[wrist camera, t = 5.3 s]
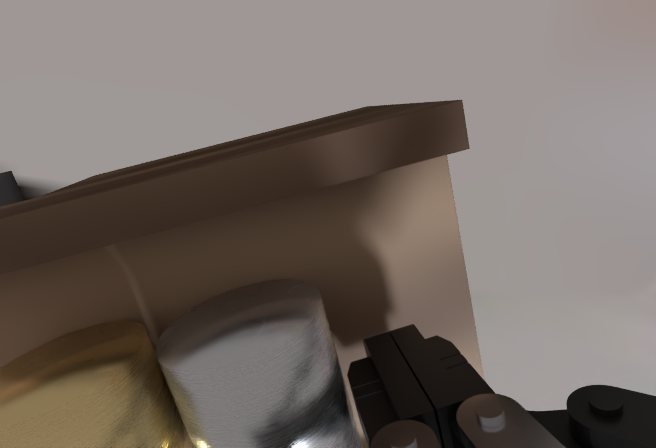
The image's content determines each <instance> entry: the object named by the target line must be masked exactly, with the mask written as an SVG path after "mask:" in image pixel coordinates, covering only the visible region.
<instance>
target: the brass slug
mask: <svg viewBox="0 0 656 448" xmlns="http://www.w3.org/2000/svg"><path fill="white" fill-rule="evenodd" d="M0 448H193V445H192V443H191V440H190V438H189V435H188V433H187V430H186V428H185V425H184V423H183V420H182V418H181V416H180V413H179V411H178V408H177V406H176V403H175V401H174V398H173V396H172V393H171V391H170V388H169V386H168V383H167V381H166V378H165V376H164V374H163V371H162V369H161V366H160V364H159V361H158V359H157V356H156V353H155V350H154V348H153V345H152V343H151V340H150V338H149V335H148V333H147V330H146V328H145V326H144V325H143V324H141V323H139V322H136V321H128V320H127V321H113V322H107V323H102V324H98V325H94V326H90V327H87V328H84V329H81V330H77V331H75V332H72V333H69V334H66V335H64V336H61V337H59V338H56V339H54V340H52V341H50V342H47V343H45V344H43V345H41V346H39V347H37V348H35V349H33V350H31V351H29V352H27V353H25V354H23V355H21V356H20V357H18V358H16V359H14V360H13V361H11V362H9V363H8V364H6V365H4V366H3V367H1V368H0Z"/></svg>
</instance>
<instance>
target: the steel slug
mask: <svg viewBox="0 0 656 448" xmlns="http://www.w3.org/2000/svg"><path fill="white" fill-rule="evenodd" d="M155 353H156V356H157V359H158V361H159V364H160V366H161V369H162V371H163V374H164V376H165V378H166V381H167V383H168V386H169V388H170V391H171V393H172V396H173V398H174V401H175V403H176V406H177V408H178V411H179V413H180V416H181V418H182V420H183V423H184V425H185V428H186V430H187V433H188V435H189V438H190V440H191V443H192V445H193V448H363V445H362V441H361V438H360V434H359V431H358V427H357V423H356V420H355V416H354V413H353V409H352V405H351V402H350V398H349V395H348V391H347V387H346V384H345V380H344V377H343V373H342V369H341V366H340V362H339V359H338V355H337V351H336V348H335V344H334V341H333V337H332V333H331V330H330V326H329V323H328V319H327V315H326V312H325V308H324V305H323V301H322V298H321V294H320V292H319V290H318V289H317V288H316V287H315V286H314V285H312V284H310V283H308V282H305V281H301V280H293V279H280V280H269V281H263V282H258V283H253V284H249V285H246V286H242V287H239V288H236V289H233V290H230V291H227V292H225V293H222V294H220V295H217V296H215V297H213V298H211V299H209V300H207V301H205V302H203V303H201V304H199V305H197V306H195V307H194V308H192V309H190V310H189V311H187V312H186V313H184V314H183V315H182V316H180V317H179V318H178V319H176V320H175V321H174V322H173V323H172V324H171V325H170V326H169V327H168V328H167V329H166V330H165V331H164V332H163V334H162V335H161V336H160V338H159V340H158V342H157V344H156V348H155Z"/></svg>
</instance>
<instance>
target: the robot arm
mask: <svg viewBox="0 0 656 448" xmlns="http://www.w3.org/2000/svg"><path fill="white" fill-rule="evenodd" d="M363 343H364V348H365V352H366V355H367V357H366V358H363V359H359V360H356V361H353V362H351V363H350V367H349V370H348V373H347V377H348V380H349V384H350V388H351V391H352V395H353V398H354V402H355V406H356V409H357V413H358V417H359V420H360V423H361V426H362V430H363V433H364V435H365V439H366V442H367V445H368V448H656V396H652V395H648V394H643V393H639V392H635V391H631V390H626V389H622V388H618V387H613V386H607V385H590V386H585V387H582V388H579V389H577V390H575V391H574V392H572V393H571V394H570V396H569V397H568V399H567V410H553V411H528V410H525V409H524V408H523V407H522V406H521V405H520V404H519V403H518V402H516V401H515V400H513V399H512V398H509V397H507V396H504V395H500V394H495V392H494V391H493V390H492V389H491V388H490V387H489V385H488V384H487V383H486V382H485V381H484V380H483V378H482V377H481V376H480V375H479V374H478V372H477V371H476V370H475V369H474V368H473V367H472V365H471V364H469V363H468V361H467V359H466V358H465V357H464V356H463V355H461V352H460V351H459V350H458V349H457V348H456V346H455V345H454V344H453V343H452V342H451V341H448V340H446V339H444V338H442V337H440V336H438V335H436V336H433V337H430V338H427V339H425V338H424V337H423V336H422V334H421V333H420V332H419V330H418V329H417V328H416V326H415V325H414V324H411V325H408V326H404V327H401V328H398V329H395V330H391V331H389V332H385V333H382V334H379V335H375V336H372V337H369V338H366V339H363Z"/></svg>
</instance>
